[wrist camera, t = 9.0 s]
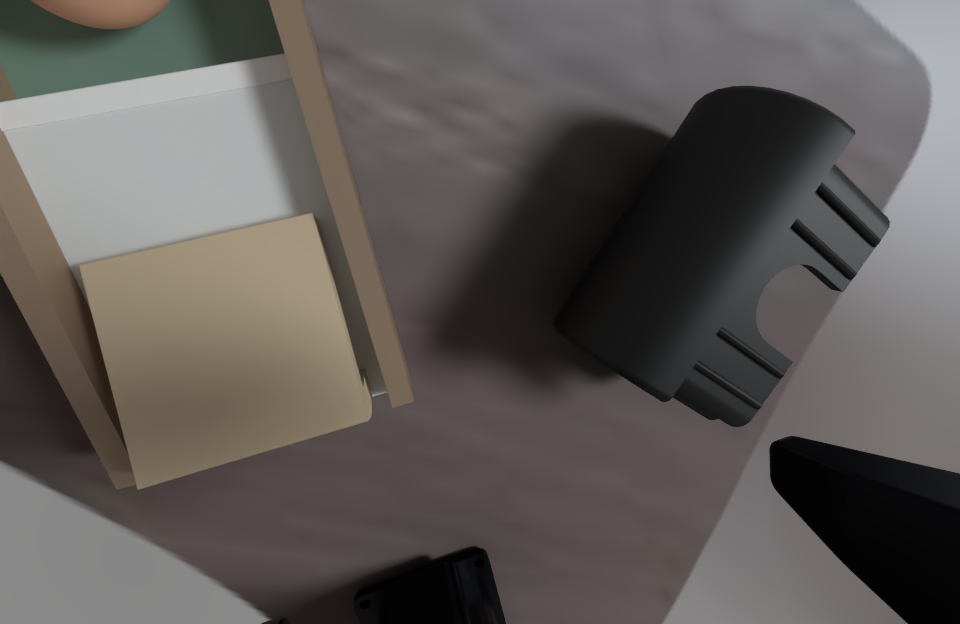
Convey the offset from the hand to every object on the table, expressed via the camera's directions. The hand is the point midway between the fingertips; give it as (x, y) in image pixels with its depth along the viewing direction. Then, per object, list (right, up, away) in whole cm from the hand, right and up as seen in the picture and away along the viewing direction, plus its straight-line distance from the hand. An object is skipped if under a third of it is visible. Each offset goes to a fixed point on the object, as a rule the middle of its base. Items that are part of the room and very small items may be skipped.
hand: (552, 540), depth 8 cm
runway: (-11, +9, +8) cm, 16 cm away
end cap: (+6, +7, +13) cm, 16 cm away
